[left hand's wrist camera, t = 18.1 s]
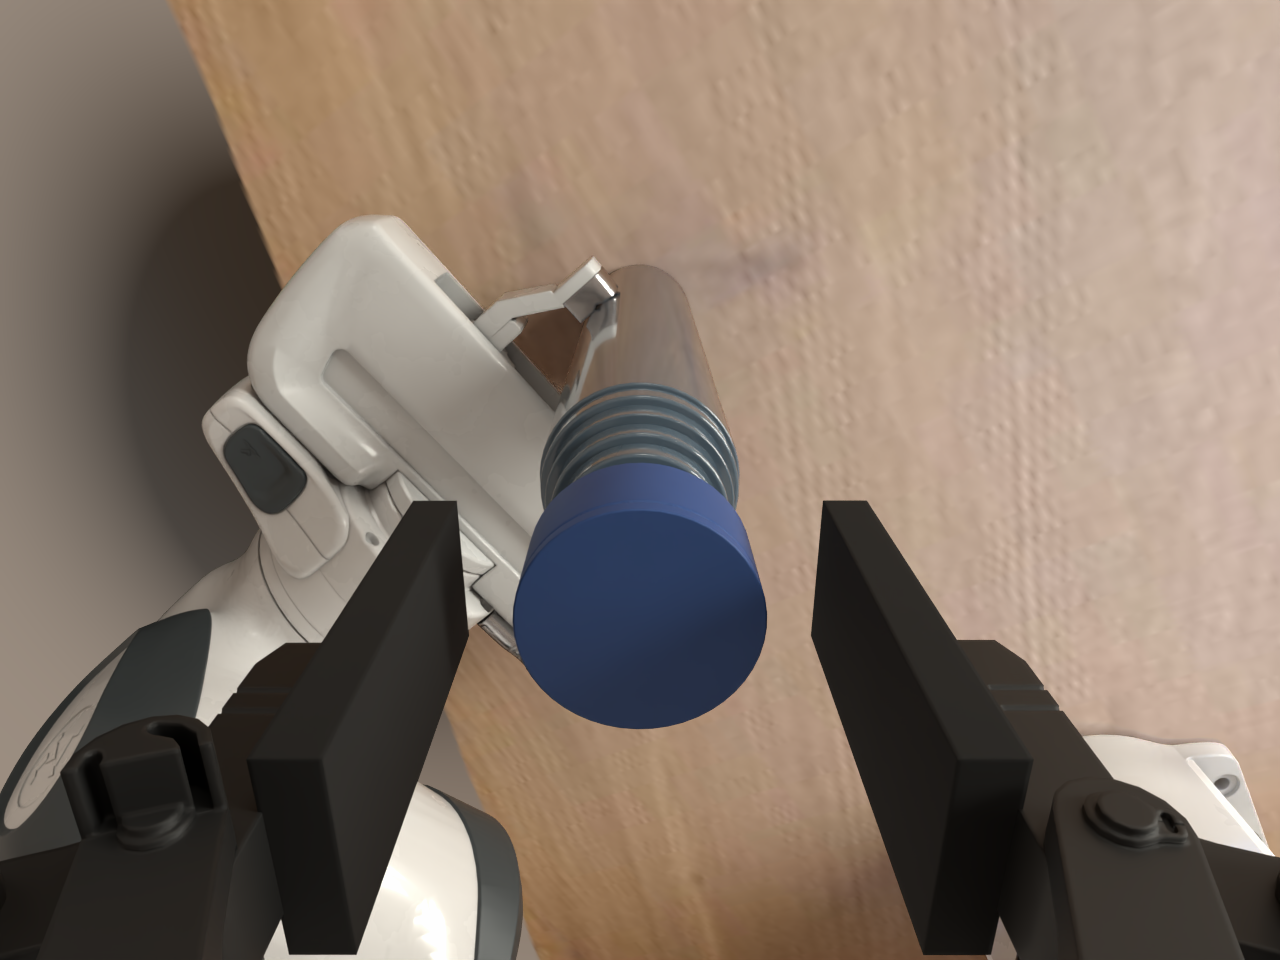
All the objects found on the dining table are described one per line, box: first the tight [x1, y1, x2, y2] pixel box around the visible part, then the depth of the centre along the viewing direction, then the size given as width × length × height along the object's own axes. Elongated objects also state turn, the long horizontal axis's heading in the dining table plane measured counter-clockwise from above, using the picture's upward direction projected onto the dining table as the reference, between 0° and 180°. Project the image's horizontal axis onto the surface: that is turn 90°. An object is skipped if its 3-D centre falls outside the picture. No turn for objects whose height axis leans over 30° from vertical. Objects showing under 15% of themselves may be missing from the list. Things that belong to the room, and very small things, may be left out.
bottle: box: [540, 265, 740, 511], centre depth 25 cm, size 4×4×26 cm
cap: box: [513, 463, 767, 729], centre depth 14 cm, size 4×4×2 cm
